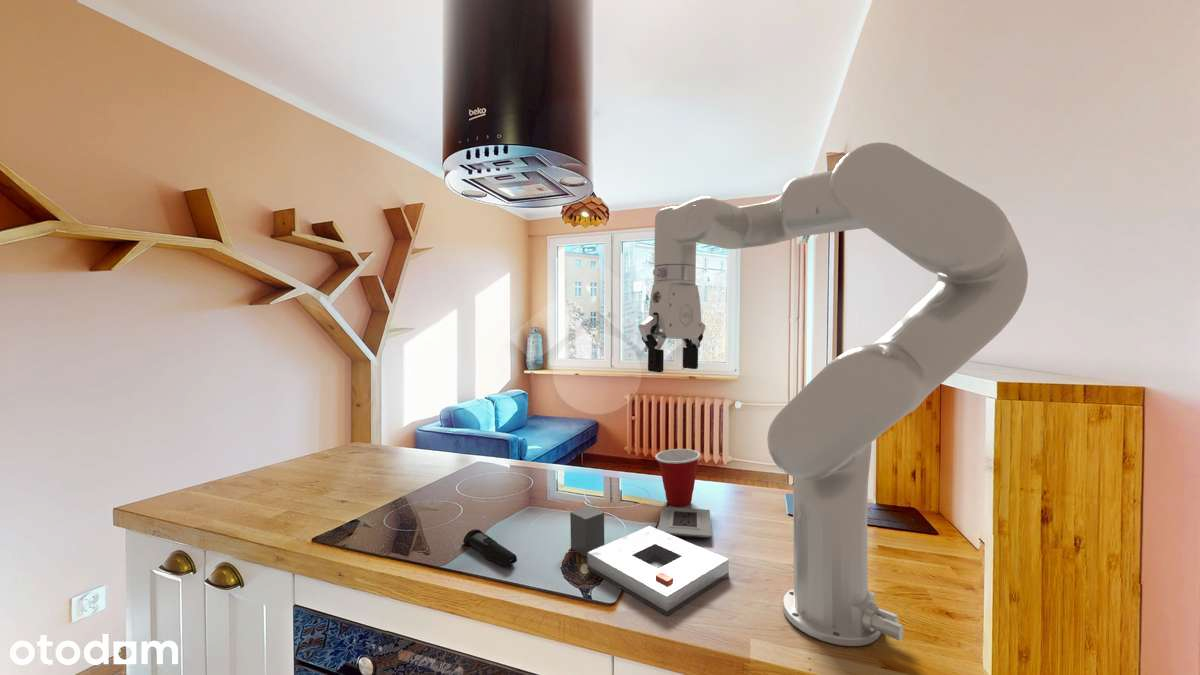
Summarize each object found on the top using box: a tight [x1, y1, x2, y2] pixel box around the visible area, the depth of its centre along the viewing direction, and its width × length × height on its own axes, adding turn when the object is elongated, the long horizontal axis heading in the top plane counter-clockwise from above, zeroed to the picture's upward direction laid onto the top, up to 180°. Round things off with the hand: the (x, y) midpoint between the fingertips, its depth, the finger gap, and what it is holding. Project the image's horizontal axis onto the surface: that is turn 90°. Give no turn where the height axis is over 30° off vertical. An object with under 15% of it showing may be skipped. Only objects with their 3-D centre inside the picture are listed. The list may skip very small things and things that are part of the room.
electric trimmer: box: [462, 529, 518, 567], centre depth 86 cm, size 4×16×3 cm, turn 44°
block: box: [569, 505, 605, 558], centre depth 88 cm, size 5×5×7 cm
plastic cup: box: [654, 448, 701, 508], centre depth 110 cm, size 11×11×12 cm
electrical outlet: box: [657, 506, 713, 540], centre depth 96 cm, size 13×10×2 cm
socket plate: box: [587, 525, 730, 617], centre depth 78 cm, size 18×16×4 cm
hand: (673, 370), depth 84 cm, fingers open, 9 cm apart
